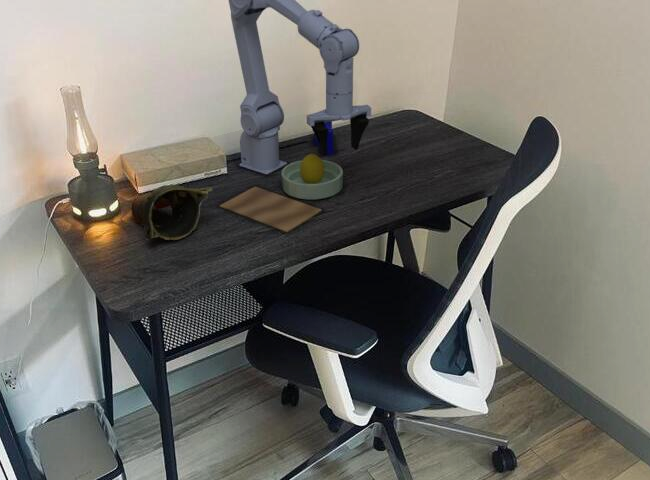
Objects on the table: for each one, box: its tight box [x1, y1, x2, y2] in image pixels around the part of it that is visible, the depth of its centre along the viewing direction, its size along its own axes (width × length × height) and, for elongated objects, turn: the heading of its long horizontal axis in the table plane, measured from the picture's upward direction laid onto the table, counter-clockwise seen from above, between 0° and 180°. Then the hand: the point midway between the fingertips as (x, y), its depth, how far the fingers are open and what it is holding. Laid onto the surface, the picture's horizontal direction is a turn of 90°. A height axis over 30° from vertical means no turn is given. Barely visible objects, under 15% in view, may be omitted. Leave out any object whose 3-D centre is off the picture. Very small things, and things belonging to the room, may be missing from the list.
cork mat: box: [218, 186, 323, 233], centre depth 149 cm, size 20×12×1 cm, turn 51°
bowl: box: [280, 159, 344, 200], centre depth 156 cm, size 14×14×4 cm
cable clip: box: [314, 121, 334, 156], centre depth 176 cm, size 12×4×6 cm, turn 179°
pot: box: [130, 183, 213, 241], centre depth 142 cm, size 17×11×18 cm
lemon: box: [300, 153, 324, 184], centre depth 155 cm, size 6×6×8 cm
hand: (339, 151), depth 149 cm, fingers open, 7 cm apart
